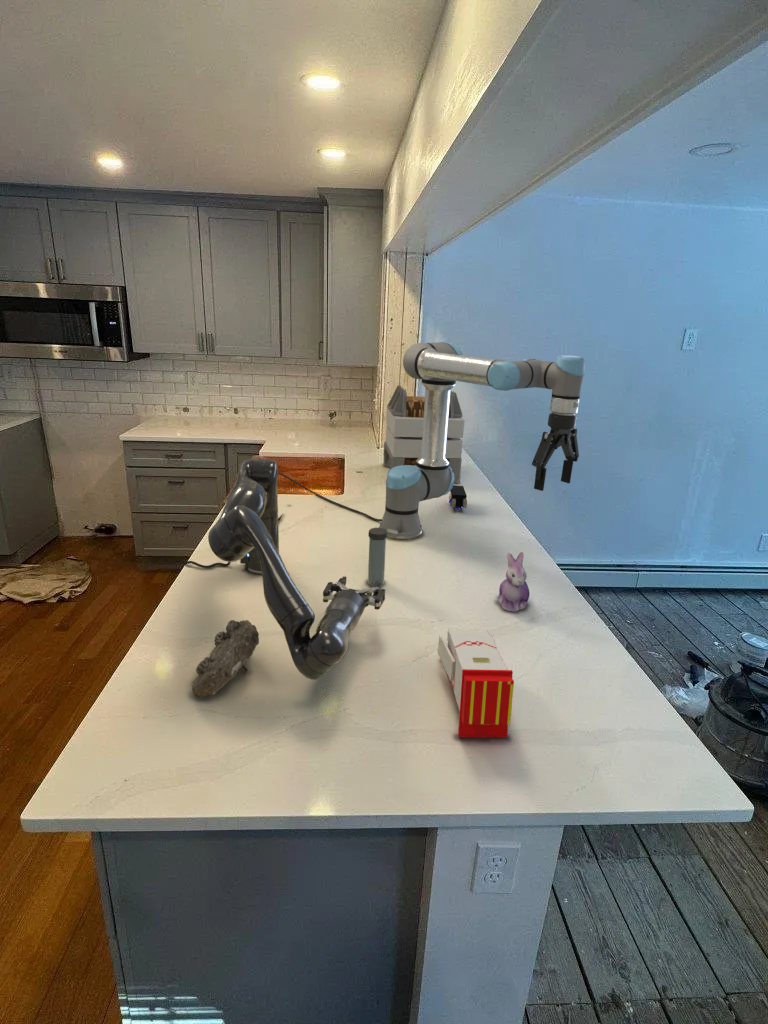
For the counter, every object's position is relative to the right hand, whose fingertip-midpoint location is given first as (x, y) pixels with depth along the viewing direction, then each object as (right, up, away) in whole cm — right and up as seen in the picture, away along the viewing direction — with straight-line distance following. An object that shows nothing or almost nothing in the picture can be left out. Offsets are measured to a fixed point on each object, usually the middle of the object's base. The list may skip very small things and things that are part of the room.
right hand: (552, 485), depth 166 cm
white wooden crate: (-32, +11, +109) cm, 115 cm away
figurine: (-14, -33, -11) cm, 37 cm away
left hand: (-55, -25, -24) cm, 65 cm away
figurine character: (-20, -6, +64) cm, 67 cm away
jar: (-52, -28, -2) cm, 59 cm away
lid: (-51, -13, -7) cm, 53 cm away
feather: (-87, -10, +44) cm, 98 cm away
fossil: (-82, -42, -43) cm, 102 cm away
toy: (-31, -45, -47) cm, 72 cm away
